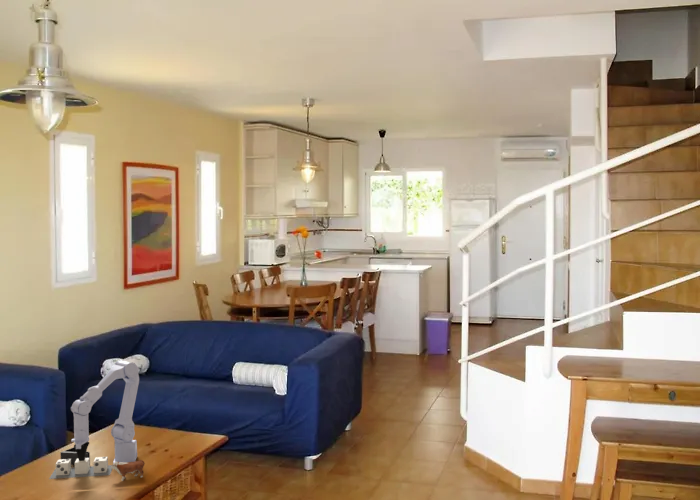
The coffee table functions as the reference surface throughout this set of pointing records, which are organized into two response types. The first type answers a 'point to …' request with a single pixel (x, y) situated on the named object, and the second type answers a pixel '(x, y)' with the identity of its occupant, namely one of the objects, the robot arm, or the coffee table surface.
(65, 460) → the birch block three pips
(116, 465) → the bull figurine
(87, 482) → the coffee table surface
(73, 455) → the door stopper
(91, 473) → the slate mat
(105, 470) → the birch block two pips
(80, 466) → the birch block plain
